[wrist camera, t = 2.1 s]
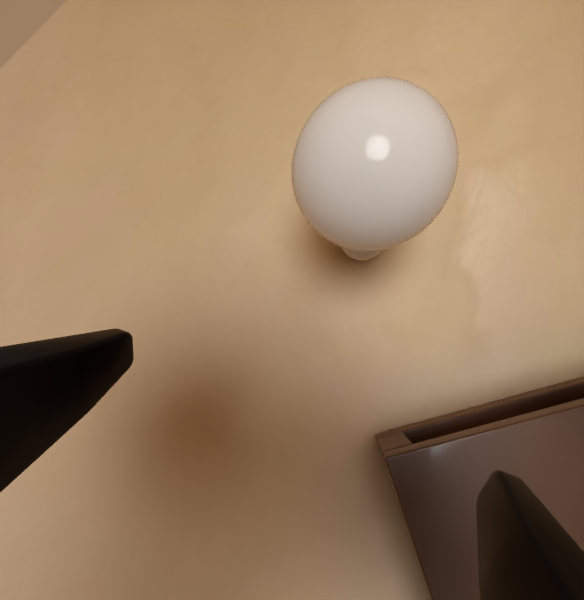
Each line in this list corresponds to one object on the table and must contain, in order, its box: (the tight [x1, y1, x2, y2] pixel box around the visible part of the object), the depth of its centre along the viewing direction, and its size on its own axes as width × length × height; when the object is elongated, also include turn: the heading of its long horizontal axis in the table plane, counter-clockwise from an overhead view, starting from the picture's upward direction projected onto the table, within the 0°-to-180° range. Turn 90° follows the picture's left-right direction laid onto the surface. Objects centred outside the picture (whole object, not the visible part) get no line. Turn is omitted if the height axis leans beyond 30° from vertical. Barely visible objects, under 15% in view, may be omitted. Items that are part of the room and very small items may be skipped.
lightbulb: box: [292, 77, 458, 261], centre depth 15 cm, size 6×6×11 cm
